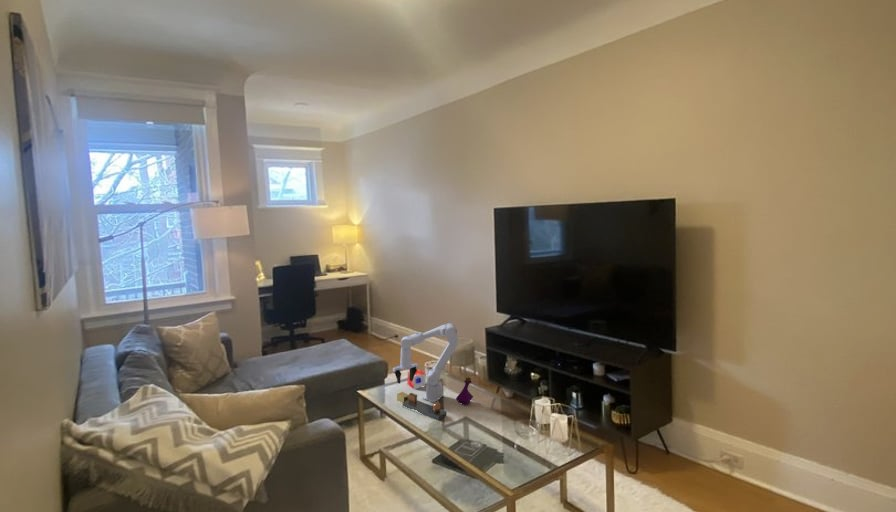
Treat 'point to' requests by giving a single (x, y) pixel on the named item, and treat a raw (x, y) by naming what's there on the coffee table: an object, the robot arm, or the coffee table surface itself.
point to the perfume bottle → (465, 392)
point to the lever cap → (402, 397)
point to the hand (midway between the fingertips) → (405, 381)
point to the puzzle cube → (417, 379)
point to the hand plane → (425, 408)
